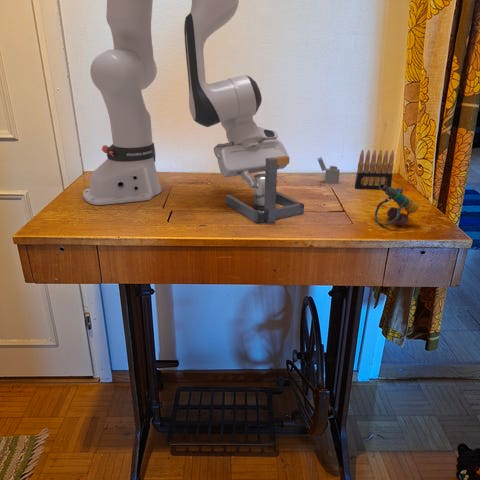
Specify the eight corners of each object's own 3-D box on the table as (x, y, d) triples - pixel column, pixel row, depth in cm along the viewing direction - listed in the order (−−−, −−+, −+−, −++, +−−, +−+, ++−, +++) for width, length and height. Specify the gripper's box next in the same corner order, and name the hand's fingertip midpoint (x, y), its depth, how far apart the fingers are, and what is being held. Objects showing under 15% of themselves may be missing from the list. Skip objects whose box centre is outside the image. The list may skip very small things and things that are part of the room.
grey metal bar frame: (260, 225, 107) (262, 161, 101) (225, 203, 122) (225, 146, 115) (307, 215, 114) (311, 154, 107) (269, 195, 128) (271, 140, 122)
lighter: (337, 181, 141) (340, 157, 138) (338, 183, 140) (340, 158, 137) (315, 181, 142) (317, 156, 139) (315, 182, 141) (317, 157, 137)
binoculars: (399, 238, 106) (426, 204, 104) (372, 220, 103) (399, 185, 101) (382, 223, 115) (406, 192, 112) (356, 207, 112) (381, 174, 109)
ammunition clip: (389, 188, 136) (395, 149, 131) (390, 190, 134) (396, 150, 129) (354, 187, 136) (358, 148, 131) (355, 189, 135) (360, 150, 130)
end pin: (259, 212, 116) (259, 179, 112) (250, 207, 120) (250, 175, 116) (273, 209, 118) (274, 177, 114) (264, 204, 122) (265, 172, 118)
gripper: (215, 137, 112) (234, 184, 108) (281, 130, 121) (300, 173, 118) (207, 151, 117) (225, 197, 114) (271, 143, 127) (289, 185, 123)
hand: (264, 185), depth 116 cm, fingers open, 5 cm apart
